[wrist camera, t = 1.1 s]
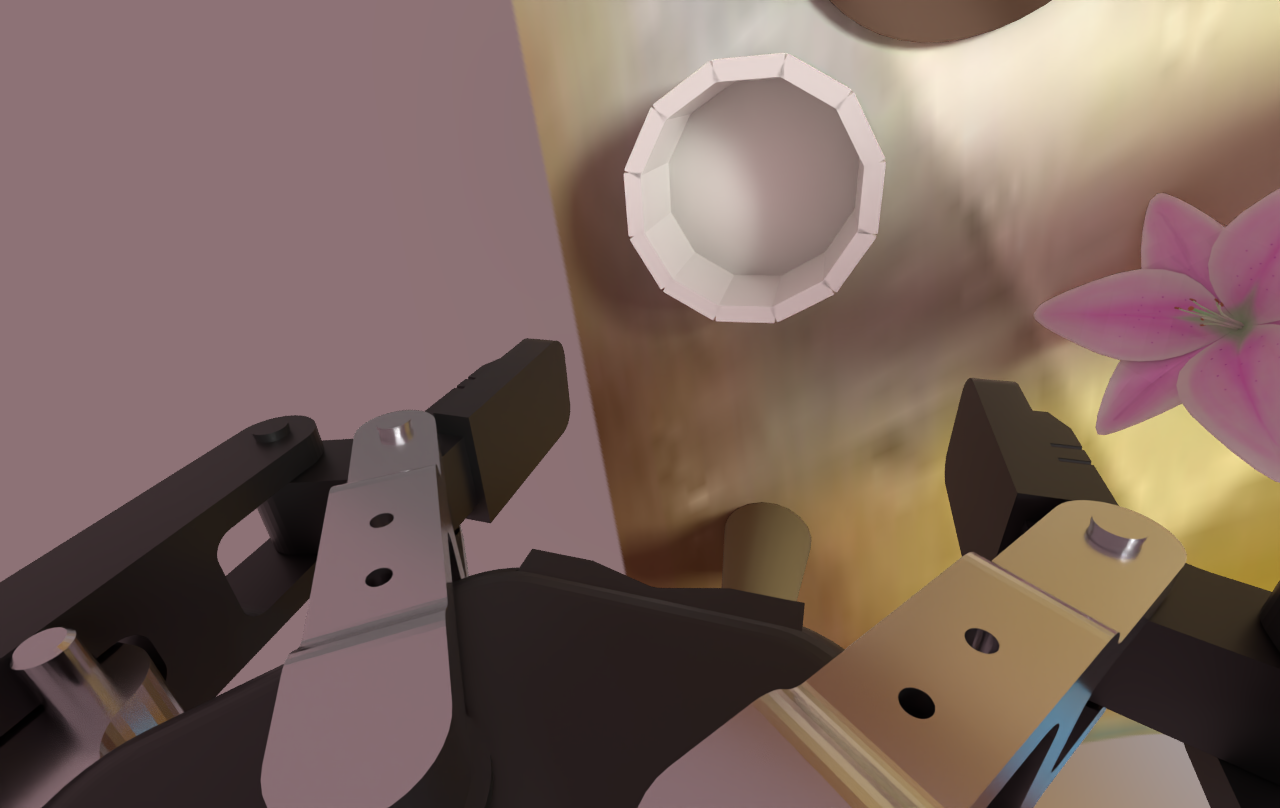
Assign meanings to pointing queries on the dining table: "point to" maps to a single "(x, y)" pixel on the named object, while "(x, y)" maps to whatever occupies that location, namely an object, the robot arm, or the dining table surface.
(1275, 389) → the lily
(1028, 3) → the walnut lid
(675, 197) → the ceramic bowl
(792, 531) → the cork
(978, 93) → the dining table surface
